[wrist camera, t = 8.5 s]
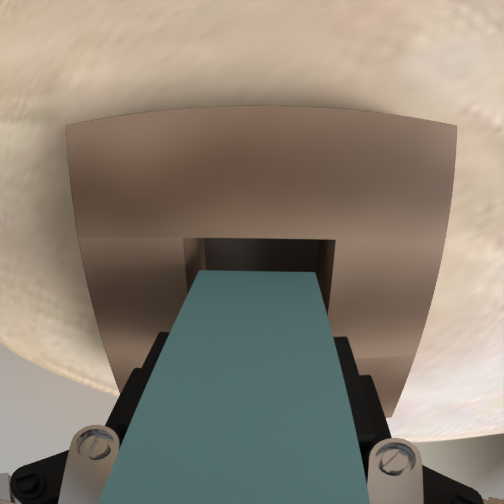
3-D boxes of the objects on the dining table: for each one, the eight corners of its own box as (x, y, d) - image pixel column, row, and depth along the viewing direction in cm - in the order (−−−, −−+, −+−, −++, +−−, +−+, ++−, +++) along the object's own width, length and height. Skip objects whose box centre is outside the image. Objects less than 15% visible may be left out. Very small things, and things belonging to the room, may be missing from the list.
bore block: (116, 122, 16) (66, 125, 11) (410, 123, 15) (456, 125, 10) (148, 360, 22) (125, 409, 17) (373, 365, 21) (391, 417, 16)
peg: (199, 270, 12) (73, 572, 2) (314, 272, 12) (383, 600, 2) (207, 359, 14) (148, 602, 4) (306, 361, 14) (326, 614, 4)
